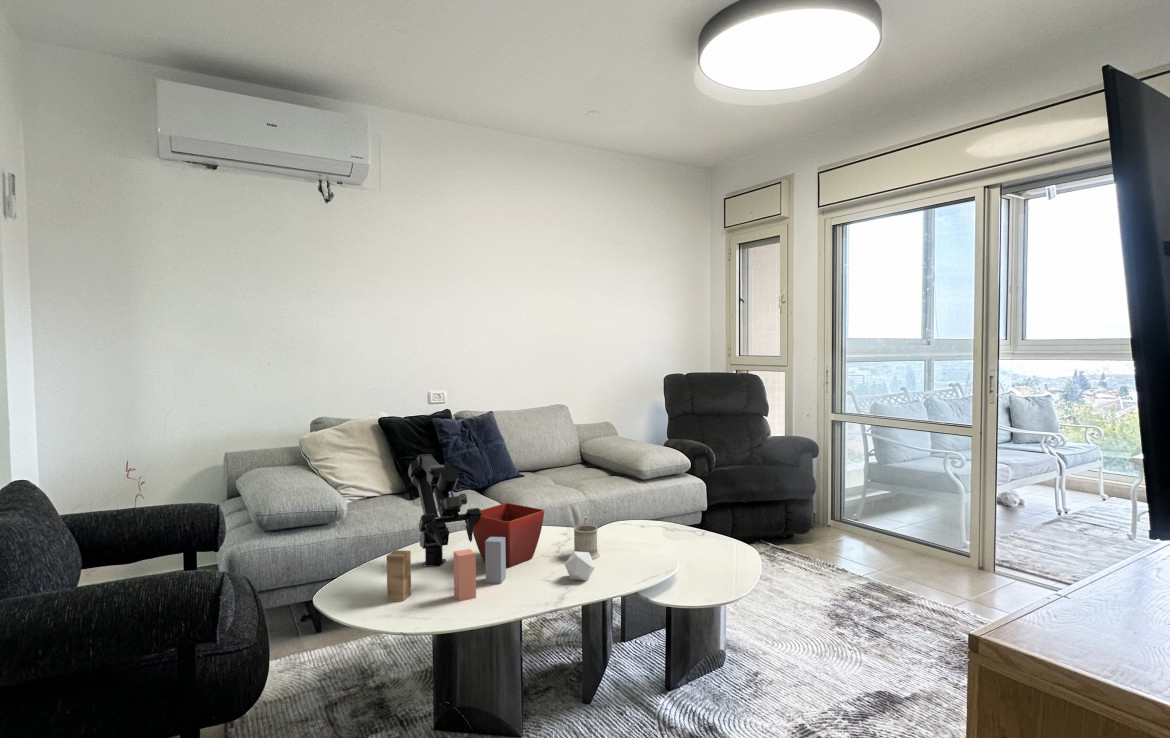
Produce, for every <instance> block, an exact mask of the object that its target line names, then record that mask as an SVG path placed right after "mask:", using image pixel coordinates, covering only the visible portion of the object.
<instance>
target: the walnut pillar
mask: <svg viewBox="0 0 1170 738" xmlns="http://www.w3.org/2000/svg"><path fill="white" fill-rule="evenodd" d="M411 554H412V553H411V550H396V549H395V550H393V551H391V552H389V553H388V554H387V555H386V601H389V602H391V601H395V602H405V601H406V600H407V599H408V598H409V597H411V595H412V569H411V567H412V564H411V562H412V560H411V558H412V555H411Z"/></svg>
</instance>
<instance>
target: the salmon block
mask: <svg viewBox="0 0 1170 738" xmlns="http://www.w3.org/2000/svg"><path fill="white" fill-rule="evenodd" d="M476 557H477V555H476V552H475V551H473V550H472V549H471V548H466V549H461V550H455V551H453V595H454V597H455V598H456V599H457V601H458V602H462V601H467V600H472V599H476V598H477V575H476V574H477V567H476V566H477V562H476V560H477V559H476Z"/></svg>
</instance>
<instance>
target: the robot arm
mask: <svg viewBox="0 0 1170 738" xmlns="http://www.w3.org/2000/svg"><path fill="white" fill-rule="evenodd" d="M407 474H408V478H410V480H411V484H412V485H414V487H415V488H417V490H418V495H419V498H420V500H419V501H420V503H421V509H422V512H423V514H422V515H421V516H420V520H419V522H418V529H419V532H421V534H420V536H419V546H420V547H421V548H422V550H425V551H424V552H425V553H424V554H425V555H424V558H425V559H424V560H425V561H424V562H422V563H421V567H423V566H424V567H441V565H443V564H444V563H445V562H446V561H447V558H443V554H444V553H443V546H448V543H449V537H450V536H449V535H450V533H451V532H450V530H449V528H448V527H447V524H448V523H454V522H456V523H457V522H461V521H462V522H463V521H464V523H465V531H466V534H467V538H468V540H469V542H470V543H472V541H473V527H474V526H475V524H477V523H478V522H479V520H480V517H481V515H482V513H481V510H482V509H480V507H473V508H467V509H466V512H465V513H461V514H459V513H460V512H461V508H462V507H463V506H464V505H466V504H468V497H467V494H466V493H460V494H459V495H454V490H455V488H456V486H457V483H458V480H459V477H460V473H459V470H457V469H456V468H454V467H452V466H451V464H440V463H439V462H438V461H437V460H436V459H435V458H434V455H433V454H429V453H428V454H427V453H426V454H420V455H418V456H417V458H416V459H414V460H413V461H411V462H410V463H409V467H408V471H407ZM432 486H434V488H433V489H432ZM435 501H436V502H435ZM436 505H437V507H436Z"/></svg>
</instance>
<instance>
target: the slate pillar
mask: <svg viewBox="0 0 1170 738" xmlns="http://www.w3.org/2000/svg"><path fill="white" fill-rule="evenodd" d="M484 562H485V584H497V585H498V584H499V585H501V584H502V583H503V582H504V581H505V580H506V578H507V569H506V568H507V567H506V548H505V537H489V538H488V539H487V540H486V541H485V561H484Z"/></svg>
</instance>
